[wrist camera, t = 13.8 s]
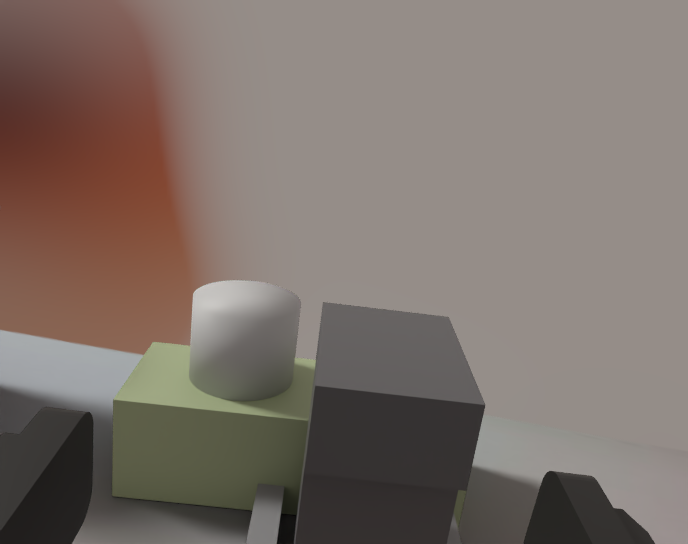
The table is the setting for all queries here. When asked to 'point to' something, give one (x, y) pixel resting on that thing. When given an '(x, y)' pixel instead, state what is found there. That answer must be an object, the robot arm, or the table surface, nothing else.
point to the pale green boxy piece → (223, 411)
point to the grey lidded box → (386, 429)
